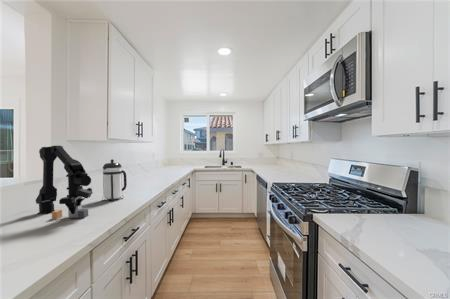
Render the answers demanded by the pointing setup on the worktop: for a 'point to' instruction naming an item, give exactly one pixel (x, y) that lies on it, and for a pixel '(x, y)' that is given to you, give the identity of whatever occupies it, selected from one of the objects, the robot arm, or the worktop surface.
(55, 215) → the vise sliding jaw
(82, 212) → the block
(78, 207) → the steel block
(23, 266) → the worktop surface
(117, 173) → the coffee press
